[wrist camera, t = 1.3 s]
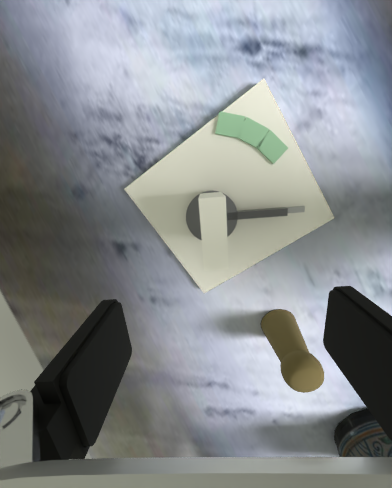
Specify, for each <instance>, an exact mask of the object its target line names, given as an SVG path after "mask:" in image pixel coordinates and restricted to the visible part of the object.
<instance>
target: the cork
mask: <svg viewBox="0 0 392 488" xmlns="http://www.w3.org/2000/svg"><path fill="white" fill-rule="evenodd" d="M261 328H262V330H263V332H264V334H265V336H266V337H267V339H268V341H269V342H270V344H271V346H272V348H273V349H274V351H275V353H276V355H277V356H278V358H279V360H280V362H281V373H282V376H283V378H284V380H285V382H286V383H287V384H288V385H289V386H290V387H291V388H292V389H294V390H296V391H298V392H311V391H314V390H316V389H318V388H319V387H320V386H321V385H322V383H323V381H324V371H323V368H322V366H321V364H320V362H319V361H318V360H317V359H316V358H315V357H314V356H313V355H312V354H310V353H309V351H308V349H307V346H306V344H305V341H304V339H303V337H302V334H301V332H300V329H299V327H298V325H297V322H296V320H295V317H294V316H293V314H292V313H291V312H289V311H287V310H282V309H278V310H273V311H270V312H269V313H267V314H266V315H265V316H264V317H263V319H262V321H261Z"/></svg>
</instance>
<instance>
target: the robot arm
mask: <svg viewBox="0 0 392 488" xmlns="http://www.w3.org/2000/svg"><path fill="white" fill-rule="evenodd" d="M323 343H324V346H325V349H326V350H327V352H328V353H329V354H330V356H331V357H332V359H333V360H334V361H335V363H336V364H337V366H338V367H339V369H340V370H341V371H342V373H343V374H344V376H345V377H346V378H347V380H348V381H349V383H350V384H351V385H352V387H353V388H354V390H355V391H356V393H357V394H358V395H359V397H360V398H361V400H362V401H363V402H364V404H365V405H366V407H367V408H368V409H369V411H370V412H371V414H372V415H373V416H374V418H375V419H376V421H377V422H378V424H379V425H380V426H381V428H382V429H383V431H384V432H385V433H386V435H387V436H388V437H389V439H390V440H391V441H392V316H391V315H389V314H388V313H387V312H385V311H384V310H383V309H381V308H380V307H379V306H377V305H376V304H375V303H373V302H372V301H370V300H369V299H368V298H366V297H365V296H364V295H362V294H361V293H360V292H358V291H357V290H356V289H354V288H353V287H351V286H341V287H334V288H333V290H331V291H330V292H329V298H328V306H327V314H326V322H325V330H324V338H323ZM131 354H132V347H131V343H130V339H129V334H128V330H127V326H126V322H125V318H124V313H123V309H122V305H121V303H120V302H118V301H117V300H116V299H113V300H103V301H101V303H100V304H99V305H98V306H97V307H96V309H95V310H94V311H93V312H92V313H91V314H90V316H89V317H88V318H87V319H86V320H85V322H84V323H83V324H82V325H81V326H80V328H79V329H78V330H77V331H76V332H75V334H74V335H73V336H72V337H71V338H70V340H69V341H68V342H67V343H66V344H65V346H64V347H63V348H62V349H61V350H60V352H59V353H58V354H57V355H56V356H55V358H54V359H53V360H52V361H51V362H50V364H49V365H48V366H47V367H46V368H45V370H44V371H43V372H42V373H41V374H40V376H39V377H38V378H37V379H36V380H35V382H34V383H35V386H34V388H33V389H32V390H31V391H28V390H17V391H13V392H11V393H9V394H6V395H4V396H2V397H0V488H392V457H190V458H103V459H85V456H86V454H87V452H88V449H89V447H90V446H93V445H94V443H95V442H96V440H97V437H98V435H99V433H100V430H101V428H102V425H103V423H104V420H105V418H106V416H107V413H108V411H109V408H110V406H111V403H112V401H113V399H114V396H115V394H116V391H117V389H118V386H119V384H120V382H121V379H122V377H123V374H124V372H125V370H126V367H127V365H128V362H129V360H130V357H131ZM69 459H73V460H69Z"/></svg>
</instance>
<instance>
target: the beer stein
mask: <svg viewBox="0 0 392 488" xmlns="http://www.w3.org/2000/svg"><path fill="white" fill-rule="evenodd" d="M334 440H335V443H336V445H337V449H338V452H339V455H340V457H392V441H391V440H390V439H389V437H388V436H387V435H386V433H385V432H384V431H383V429H382V428H381V426H380V425H379V424H378V422H377V421H376V419H375V418H374V416H373V415H372V414H371V412H370V411H369V409H364V410H361V411H358V412H355V413H352V414H350V415H349V416H348V417H346V418H345V419H344V420H343V421H341V422H340V423H339V425H338V426H337V428H336V430H335V435H334Z"/></svg>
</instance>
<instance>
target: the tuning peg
mask: <svg viewBox="0 0 392 488" xmlns="http://www.w3.org/2000/svg"><path fill="white" fill-rule="evenodd" d="M287 215H288V208H286V207H278V208H265V209H252V210H239V211H237V208H236V206H235V204H234V202H233V201H232V200H231V199H230V198H229V197H228V196H227V195H226V194H224V193H222V192H219V191H214V190H210V191H205V192H202V193H200V194H198V195H197V196H196V197H194V198H193V200H192V201H191V202H190V204H189V206H188V208H187V211H186V223H187V226H188V228H189V230H190V232H191V233H192V234H193V235H194V236H195V237H196V238H198V239H199V240H202V251H203V263H204V271H209V270H227V269H229V267H228V241H227V237H228V236H229V235H230V234H231V233H232V232H233V230H234V229H235V227H236V224H237V220H238V219H251V218H265V217H279V216H287Z"/></svg>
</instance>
